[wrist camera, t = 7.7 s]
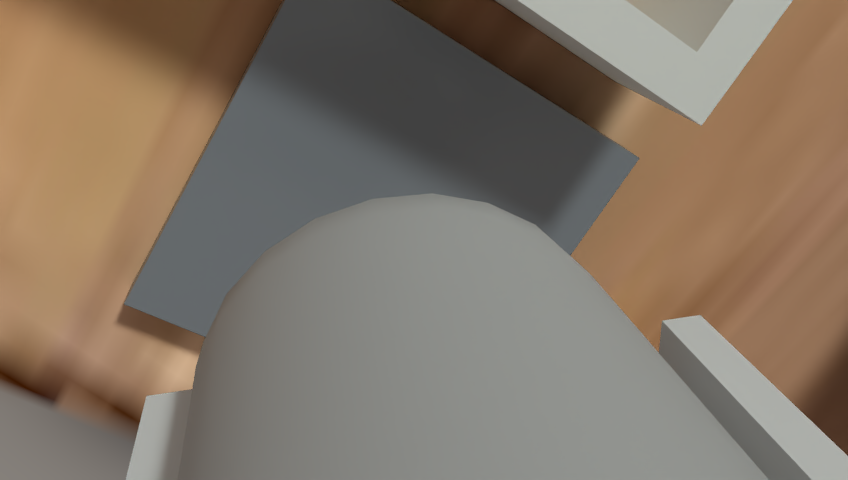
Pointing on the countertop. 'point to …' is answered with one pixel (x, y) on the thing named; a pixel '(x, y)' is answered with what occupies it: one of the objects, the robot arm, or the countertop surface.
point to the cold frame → (660, 43)
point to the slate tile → (365, 148)
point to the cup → (438, 362)
